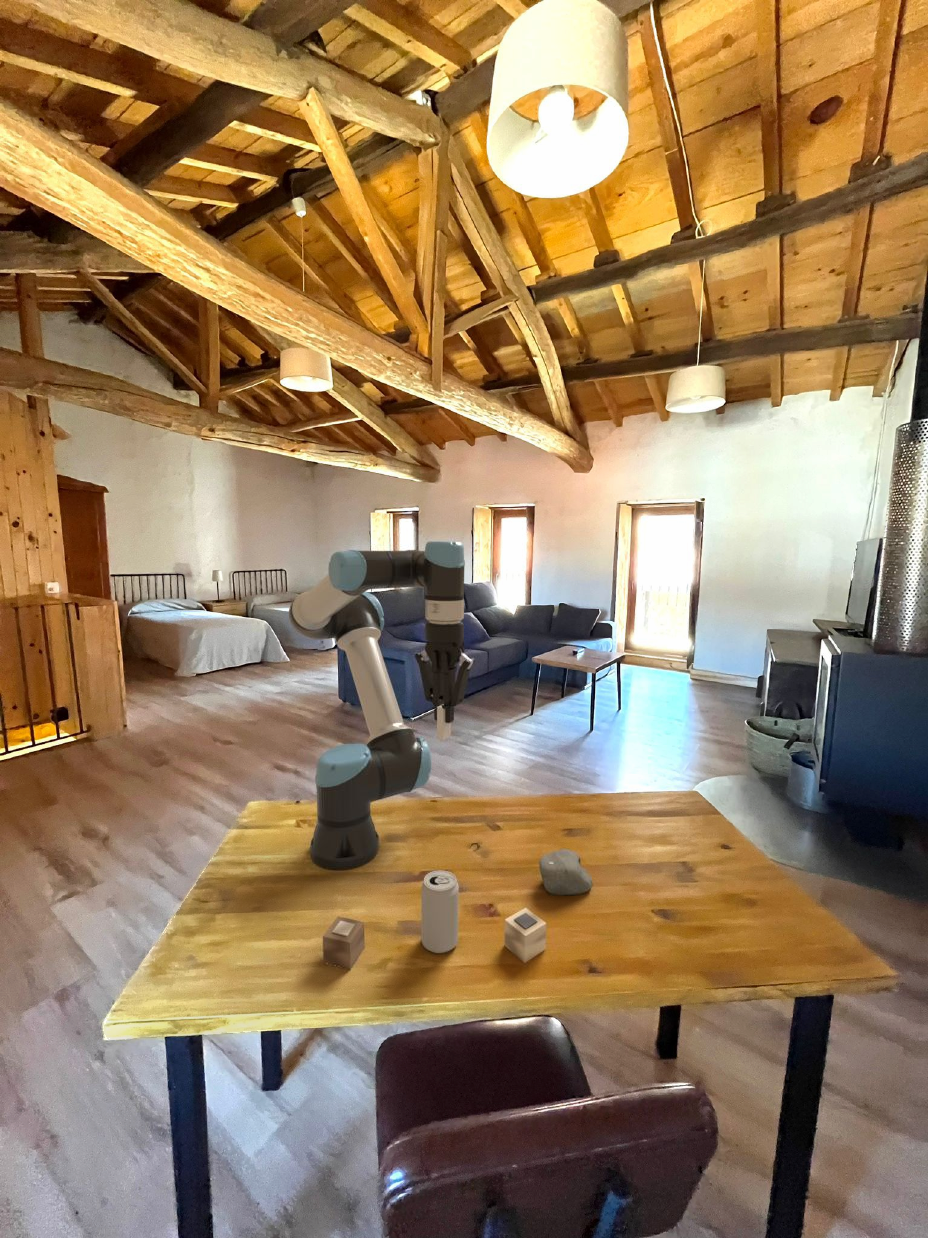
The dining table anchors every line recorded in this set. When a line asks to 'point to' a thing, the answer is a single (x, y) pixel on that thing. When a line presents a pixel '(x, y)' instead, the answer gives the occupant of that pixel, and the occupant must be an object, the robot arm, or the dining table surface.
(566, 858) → the stone
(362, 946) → the walnut block
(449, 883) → the beverage can
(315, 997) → the dining table surface
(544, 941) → the beech block
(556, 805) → the dining table surface
